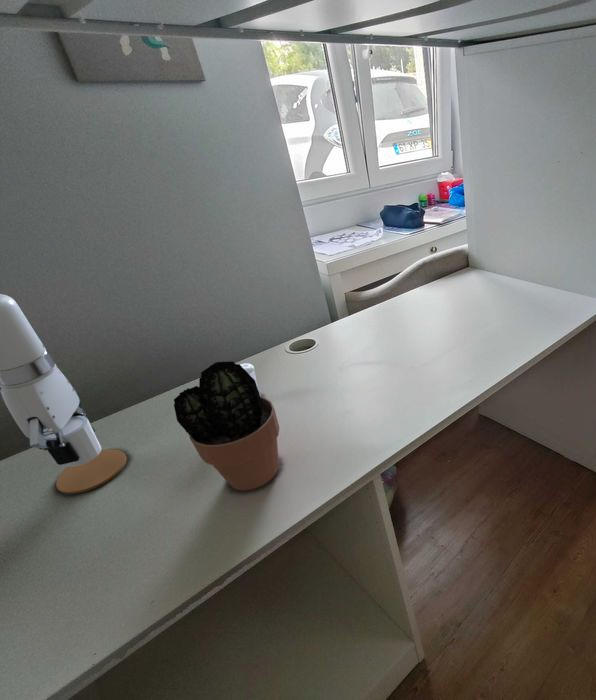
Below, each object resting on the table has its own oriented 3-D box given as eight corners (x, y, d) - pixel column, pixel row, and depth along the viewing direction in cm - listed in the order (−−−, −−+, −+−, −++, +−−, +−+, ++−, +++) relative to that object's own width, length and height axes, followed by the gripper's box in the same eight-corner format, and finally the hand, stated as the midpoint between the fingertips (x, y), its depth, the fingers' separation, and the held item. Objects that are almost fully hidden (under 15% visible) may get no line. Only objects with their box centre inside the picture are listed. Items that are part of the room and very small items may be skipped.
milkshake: (237, 406, 102) (222, 370, 96) (250, 392, 106) (237, 357, 101) (255, 407, 101) (241, 371, 96) (267, 393, 105) (255, 358, 100)
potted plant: (261, 439, 92) (221, 333, 79) (307, 461, 85) (272, 350, 72) (199, 484, 82) (141, 371, 69) (246, 513, 75) (193, 395, 63)
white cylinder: (101, 437, 88) (84, 410, 84) (108, 454, 83) (90, 426, 80) (58, 456, 84) (38, 428, 80) (63, 475, 79) (42, 446, 76)
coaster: (46, 501, 80) (44, 499, 79) (71, 460, 89) (69, 457, 88) (116, 484, 83) (115, 482, 82) (133, 445, 92) (132, 443, 91)
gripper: (22, 348, 79) (73, 424, 89) (-36, 403, 65) (31, 487, 74) (71, 339, 81) (116, 415, 91) (25, 392, 67) (83, 475, 76)
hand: (77, 447), depth 82 cm, fingers closed on white cylinder, 6 cm apart
